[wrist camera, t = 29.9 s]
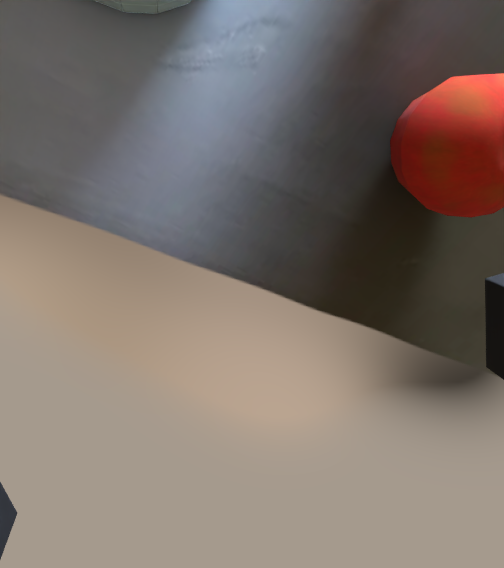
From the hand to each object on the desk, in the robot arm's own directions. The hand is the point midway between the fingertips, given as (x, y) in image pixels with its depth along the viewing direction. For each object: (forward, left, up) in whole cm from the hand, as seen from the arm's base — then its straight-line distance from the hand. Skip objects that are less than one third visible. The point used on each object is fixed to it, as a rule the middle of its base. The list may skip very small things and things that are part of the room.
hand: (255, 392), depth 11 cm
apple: (+18, +11, -27) cm, 34 cm away
